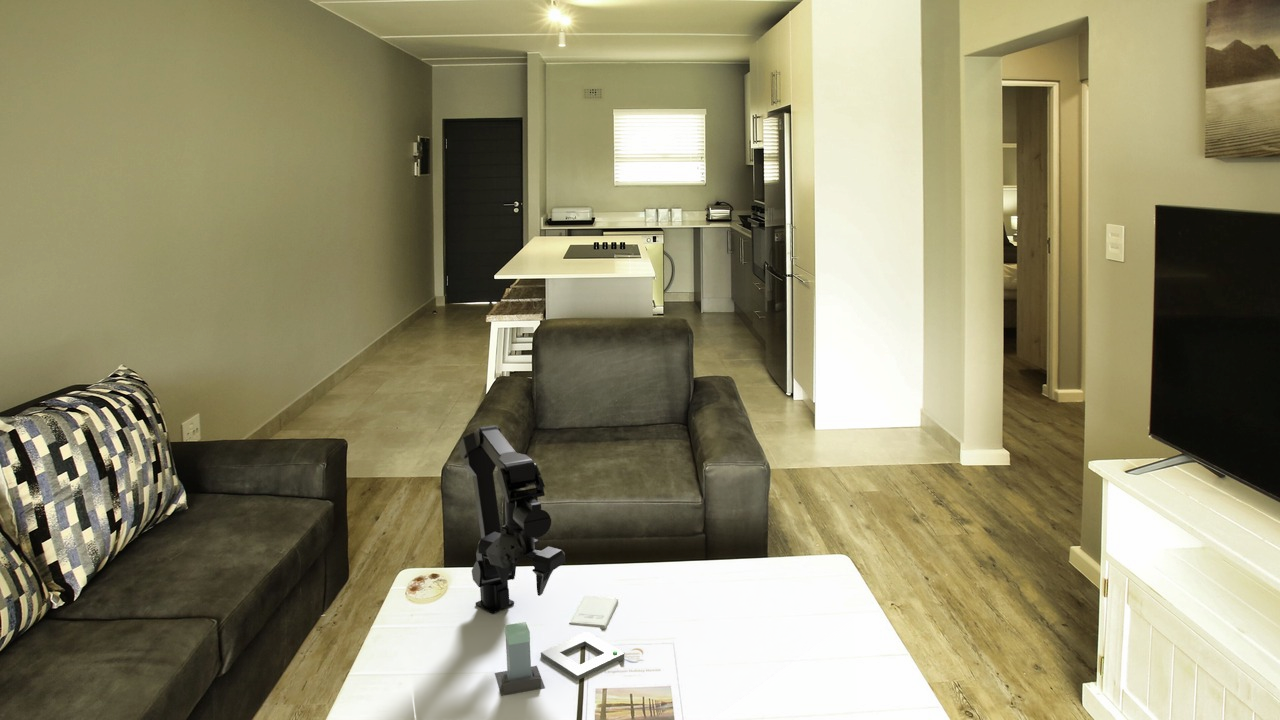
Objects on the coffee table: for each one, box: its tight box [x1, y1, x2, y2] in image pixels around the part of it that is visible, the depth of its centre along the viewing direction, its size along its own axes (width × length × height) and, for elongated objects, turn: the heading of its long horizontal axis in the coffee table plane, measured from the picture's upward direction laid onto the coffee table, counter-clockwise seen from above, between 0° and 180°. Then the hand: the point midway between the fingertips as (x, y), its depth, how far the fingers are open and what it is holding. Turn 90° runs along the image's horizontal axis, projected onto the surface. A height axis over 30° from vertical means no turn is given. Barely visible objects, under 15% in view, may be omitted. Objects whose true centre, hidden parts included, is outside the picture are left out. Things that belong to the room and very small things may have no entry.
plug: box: [504, 621, 532, 681], centre depth 180 cm, size 4×4×11 cm
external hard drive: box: [568, 595, 619, 630], centre depth 208 cm, size 2×8×12 cm
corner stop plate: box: [494, 665, 546, 697], centre depth 181 cm, size 8×8×2 cm
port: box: [540, 631, 625, 681], centre depth 189 cm, size 12×12×2 cm
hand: (522, 589), depth 193 cm, fingers open, 9 cm apart
